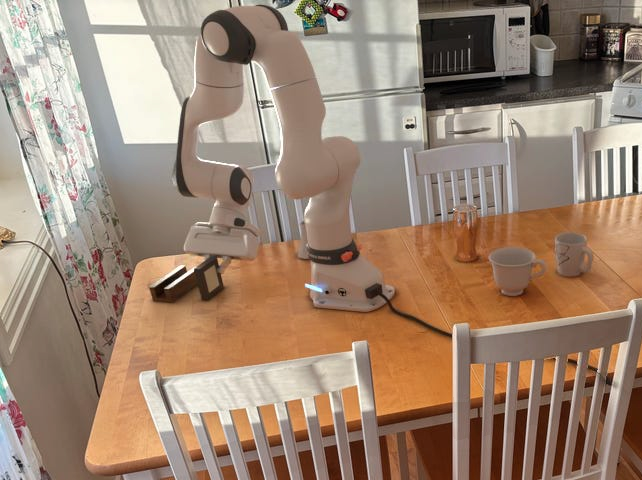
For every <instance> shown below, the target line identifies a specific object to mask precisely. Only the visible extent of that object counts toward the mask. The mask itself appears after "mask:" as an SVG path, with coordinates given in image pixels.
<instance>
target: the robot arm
mask: <svg viewBox="0 0 642 480" xmlns="http://www.w3.org/2000/svg"><path fill="white" fill-rule="evenodd" d="M251 62H253V63H255V64H256V65H258V66H259V68H261V71H262V72H263V75H264V79H265V81H266V85H267V88H268V90H269V91H268V92H269V94H270V97H271V100H272V103H273V105H274V109H275V112H276V116H277V119H278V123H279V130H280V131H279V132H280V155H279V159H278V162H277V164H276V166H275V170H274V176H275V181H276V182H275V183H276V184H277V186H278V188H279V190H280V191H281V192H282V193H283V194H284V196H286V197H287V198H289V199H292V200H304V199H309V202H308V204H307V206H306V208H305V210H304V215H303V221H305V227H306V233H307V240H308V243H307V252H308V258H309V259H308V260H309V262H310V275H311V276H310V277H311V278H310V284H308V283H304V286H305V288H309V289H310V291H309V298H310V299H311V300H312V301H313V307H314V308H319V309H329V310H330V309H331V310H340V311H349V312H350V311H351V312H361V313H369V312H372V311H375V310H377V309H379V308H381V307H383V306H384V305H386V304H387V306H388V308H389V309H390V310H391V311H392V312H393V313H395V314H396V315H398V316H400V317H403V318H406V319H410V320H412V321H414V322H416V323H418V324H420V325H422V326H424V327H425V328H427V329H430V330H432V331H434V332H436V333H438V334H441V335H444V336H447V337H449V338H452V334H453V333H450V332H447V331H445V330H442V329H440V328H437V327H435V326H433V325H430V324H429V323H427V322H425V321H423V320H421V319H420V318H417V317H415V316H413V315H411V314H406V313H403V312H401V311H399V310H397V309H396V308H395V307H394V306H393V304H392V302H391V299H392V298H393V297H394V296H395V293H396V289H395V287H394V286H392V285H389V284H386V280H385V278H384V274H383V272H382V271H381V270H380V269H379V268H378V267H376V266H375V265H374V264H372V262H370V261H369V260H368V259H367V258H365V257H364V256H363V255H362V254H361V252H360V250H362V249H363V247H362V245H363V244H362V243H360V244H359V245H357V243H356V242H355V239H353V236H352V226H351V217H350V205H351V197H352V196H351V195H352V189H353V183H354V179H355V176H356V174H357V171H358V170H359V167H360V165H361V153H360V150H359V148H358V147H357V145H356V143H355V142H354V141H353V140H352V139H351V138H349V137H347V136H343V135H337V136H327V137H324V138H322V129H323V123H324V121H325V119H326V116H327V115H326V113H327V109H326V105H325V102H324V98H323V96H322V92H321V89H320V85H319V82H318V79H317V77H316V73H315V70H314V67H313V64H312V61H311V59H310V56H309V54H308V52H307V50H306V48H305V46H304V44H303V42H302V40H301V39H300V37H299V36H298V35H297V34H296V33H294V32H293V31H290V30H289V27H288V23H287V20H286V19H285V16H284V15H283V14H282V13H281V11H280V10H278V9H277V8H275V7H273V6H270V5H267V4H256V5H236V6H232V7H228V8H225V9H217V10H215V11H214V12H211V13H210V14H208V15H207V16H206V17H204V19H203V20H202V22H201V25H200V34H199V35H198V37H197V39H196V43H195V50H194V62H193V63H194V64H193V65H194V66H193V68H194V87H193V91H192V93H191V95H188V96H187V97H185V98H184V100H183V101H182V104H181V109H180V115H179V121H178V122H179V123H178V129H177V131H178V132H177V141H176V153H175V160H174V163H173V169H172V173H171V182H172V185H173V187H174V188H175V189H176V190H177V192H178V193H179V194H180V195H181V196H183V197H186V198H196V199H197V198H200V199H206V200H211V201H215V203H214V205H213V207H212V209H211V210H212V211H211V213H210V217H209V221H208V222H202V221H201V222H200V221H199V222H196V223H195V224H193V225H191V227H190V230H189V232H188V234H187V236H186V238H185V242H184V245H183V250H184V252H185V253H186V254H188V255H189V256H191V257H192V256H193V257H203V260H204V261H205V260H207V259H208V258H210V257H217V259H221V260H222V262H221V263H220V264H219V266H217V269H216V273H218V274H221V275H224V274H225V272H226V269H227V268H228V267H229V266H230V265H231V264H232V260H235V261H246V262H253V261H254V260H255V259H256V258H257V257H258V251H259V247H260V241H259V237H260V235H261V230H260V229H259V228H258V227H257V226H256V225H255V224H254V223H252V222H251V221H249V220H247V210H248V208H249V207H250V204H251V201H252V194H253V190H254V189H253V188H254V174H253V173H252V172H251V170H250V169H249V168H248V167H246V166H244V165H241V164H238V163H229V164H228V163H223V162H216V161H211V160H205V159H201V158H200V157H199V156H198V154H197V151H198V144H199V143H198V142H199V135H200V128H201V125H203V124H206V123H207V124H208V123H211V122H214V121H215V122H216V121H221V120H224V119H227V118H229V117H231V116H232V115H234V114H236V113H237V112H238V111H239V110H240V109H241V107H242V105H243V103H244V98H245V97H244V96H245V95H244V94H245V82H244V65H245V66H247V65H249V64H250V63H251ZM552 360H555V361H557V360H556V359H555V358H553V359H552ZM577 361H578V360H576V359H572V358H568V362H567V363H570V364H573V365H577ZM587 365H588V370H590V371H592V372H595V373H597V370H598V369H599V368H598V367H595V366H593V365H590V364H587ZM605 383H606V384H607V386H608V387H611V386H613V384H612V381H611V380H610V379H609V377H608V375H606V381H605Z"/></svg>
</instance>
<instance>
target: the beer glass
mask: <svg viewBox="0 0 642 480" xmlns="http://www.w3.org/2000/svg"><path fill="white" fill-rule="evenodd" d="M452 226H453V233H454V238H455V242H456V254H455V258H456V260H457V261H459V262H461V263H462V262H463V263H469V262H474V261H476V260H477V259H478V254H477V249H476V245H477V244H476V242H477V237H478V229H479V217H478V208H477V206H476V205H475V204H473V203H460V204H456V205H454V206H453V207H452Z"/></svg>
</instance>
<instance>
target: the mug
mask: <svg viewBox="0 0 642 480" xmlns="http://www.w3.org/2000/svg"><path fill="white" fill-rule="evenodd" d="M587 244H588V237H587V236H586V235H585V234H582V233H579V232H574V231H573V232H572V231H568V232H566V231H565V232H561V233H559V234H557V235H555V238H554V247H555V251H554V252H555V260H556V267H557V271H558V274H559V275H560V276H563V277H565V278H573V277H578V276H579V275H581V273H584V274H587V273H589V272H590V271H591V269H592V265H593V262H594V252H593V251H592V250H591V249H590V248H587ZM586 255H587V262H586V266H585V267H584V262H585V258H586Z"/></svg>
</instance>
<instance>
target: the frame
mask: <svg viewBox="0 0 642 480" xmlns="http://www.w3.org/2000/svg"><path fill="white" fill-rule="evenodd" d="M218 259H219V258H217V257H210V258H208V259H207V260H204V261H202V262H201V263H199V264H198V265H197V266H194V267H195V268H194V267H193V268H194V272H195V276H196V280H197V289H198V292H199V295H200V300H201V301H204V302H205V301H206V302H208V301H209V300H210V299H212V298H213V297H215V296H216V295H217V294H218V293H220V291H222V290H223V289H225V286H224V281H223V278H222V277H223V276H222V274H218V273H216V269H217V266H220V263H219V260H218Z"/></svg>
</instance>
